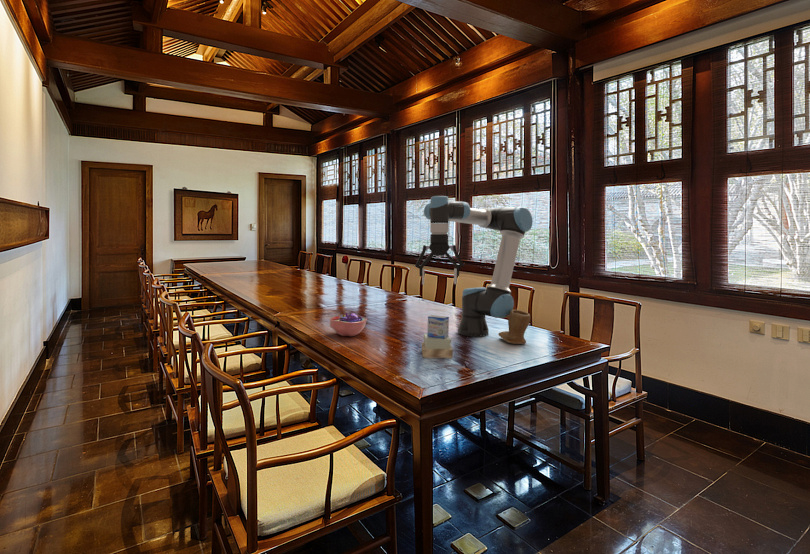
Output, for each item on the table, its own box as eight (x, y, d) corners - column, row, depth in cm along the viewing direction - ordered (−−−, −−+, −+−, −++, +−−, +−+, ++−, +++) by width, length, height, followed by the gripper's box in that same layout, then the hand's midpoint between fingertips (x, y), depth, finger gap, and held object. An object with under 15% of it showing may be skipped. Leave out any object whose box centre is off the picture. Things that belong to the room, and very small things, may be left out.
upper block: (446, 342, 194) (447, 333, 193) (450, 348, 184) (450, 339, 183) (423, 342, 193) (423, 333, 193) (426, 349, 183) (426, 339, 183)
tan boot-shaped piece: (533, 345, 203) (534, 313, 202) (507, 346, 202) (508, 313, 201) (521, 337, 218) (522, 307, 217) (497, 338, 217) (498, 307, 216)
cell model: (351, 329, 233) (351, 307, 232) (374, 336, 218) (374, 313, 217) (322, 333, 222) (322, 311, 221) (344, 341, 207) (344, 317, 206)
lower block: (449, 351, 195) (449, 342, 194) (452, 359, 183) (452, 349, 182) (421, 351, 195) (421, 342, 194) (423, 359, 183) (423, 349, 182)
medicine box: (427, 336, 187) (427, 316, 187) (431, 334, 191) (431, 314, 190) (444, 339, 184) (445, 318, 183) (448, 336, 188) (449, 316, 187)
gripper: (467, 233, 192) (467, 282, 195) (409, 233, 191) (409, 283, 194) (470, 233, 185) (470, 284, 187) (409, 234, 184) (410, 285, 187)
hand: (439, 284), depth 191 cm, fingers open, 13 cm apart
